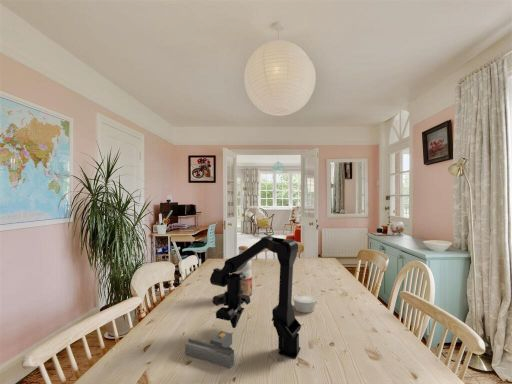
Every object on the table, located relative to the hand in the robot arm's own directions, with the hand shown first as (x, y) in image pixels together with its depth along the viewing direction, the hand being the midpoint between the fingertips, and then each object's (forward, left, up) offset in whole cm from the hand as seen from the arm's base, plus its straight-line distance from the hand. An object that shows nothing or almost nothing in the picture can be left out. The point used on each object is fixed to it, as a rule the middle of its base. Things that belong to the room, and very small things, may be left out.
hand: (234, 327), depth 107 cm
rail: (0, +16, -2) cm, 16 cm away
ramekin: (-21, -34, -3) cm, 40 cm away
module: (0, +10, -3) cm, 10 cm away
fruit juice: (+12, -33, -3) cm, 35 cm away
